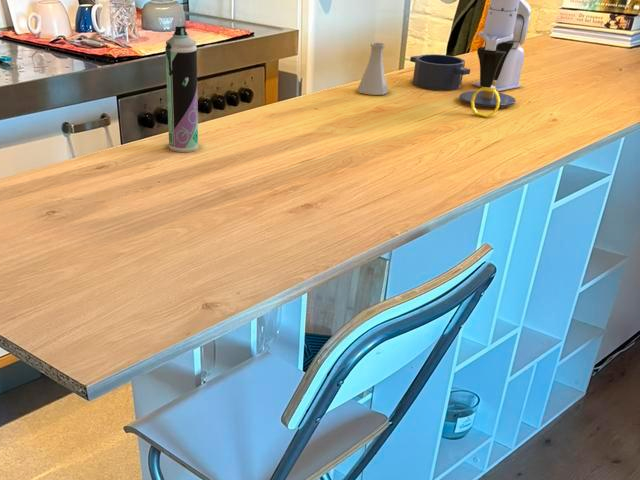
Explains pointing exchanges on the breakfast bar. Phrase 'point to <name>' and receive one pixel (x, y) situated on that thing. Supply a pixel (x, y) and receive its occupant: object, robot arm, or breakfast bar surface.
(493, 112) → the yellow ring
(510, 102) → the lid
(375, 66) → the flask
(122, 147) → the breakfast bar surface
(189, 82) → the spray can
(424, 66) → the dark grey pot
